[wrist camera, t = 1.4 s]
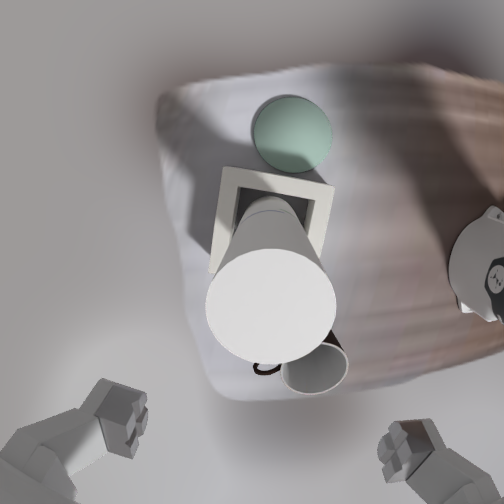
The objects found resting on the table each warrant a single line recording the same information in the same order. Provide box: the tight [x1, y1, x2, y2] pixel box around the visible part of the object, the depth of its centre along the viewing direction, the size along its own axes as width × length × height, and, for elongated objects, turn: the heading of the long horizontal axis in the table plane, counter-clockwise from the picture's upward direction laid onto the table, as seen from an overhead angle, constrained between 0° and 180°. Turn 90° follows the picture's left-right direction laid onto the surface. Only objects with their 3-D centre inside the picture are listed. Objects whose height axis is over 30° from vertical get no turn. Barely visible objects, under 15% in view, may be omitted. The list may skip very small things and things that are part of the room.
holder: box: [208, 166, 335, 274], centre depth 38 cm, size 13×13×5 cm
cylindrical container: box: [205, 196, 336, 364], centre depth 28 cm, size 7×7×25 cm
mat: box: [254, 97, 332, 173], centre depth 36 cm, size 10×10×1 cm
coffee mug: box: [253, 330, 349, 395], centre depth 40 cm, size 12×9×10 cm
